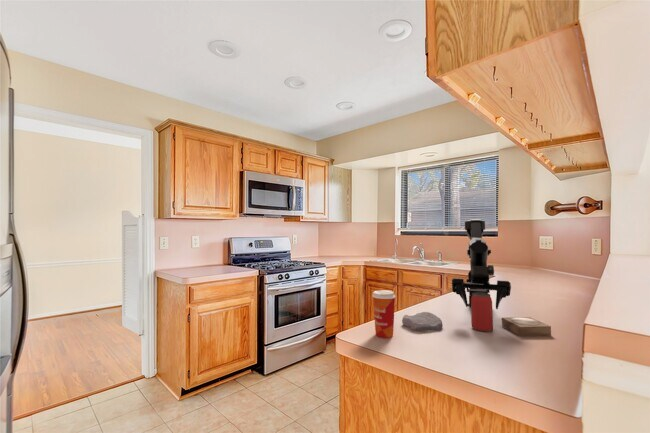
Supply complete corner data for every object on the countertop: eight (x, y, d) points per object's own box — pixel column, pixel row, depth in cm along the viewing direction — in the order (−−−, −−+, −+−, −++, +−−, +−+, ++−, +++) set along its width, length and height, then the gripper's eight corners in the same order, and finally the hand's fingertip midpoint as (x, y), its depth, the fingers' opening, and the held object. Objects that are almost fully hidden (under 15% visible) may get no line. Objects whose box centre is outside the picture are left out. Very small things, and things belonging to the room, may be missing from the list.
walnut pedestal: (502, 326, 109) (501, 317, 109) (530, 325, 109) (530, 316, 110) (520, 336, 99) (519, 326, 99) (551, 335, 99) (550, 325, 100)
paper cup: (368, 333, 104) (367, 290, 104) (387, 329, 107) (387, 289, 107) (380, 340, 97) (380, 295, 97) (401, 337, 100) (400, 293, 100)
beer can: (473, 331, 104) (472, 295, 105) (470, 325, 111) (469, 291, 111) (495, 333, 103) (494, 296, 103) (490, 326, 109) (489, 292, 109)
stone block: (445, 334, 108) (427, 320, 117) (446, 321, 107) (428, 308, 116) (416, 339, 104) (400, 325, 113) (417, 326, 103) (400, 312, 112)
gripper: (451, 256, 116) (451, 291, 105) (509, 257, 108) (515, 296, 98) (452, 274, 123) (452, 309, 112) (506, 277, 115) (512, 315, 105)
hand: (481, 307), depth 106 cm, fingers open, 9 cm apart
